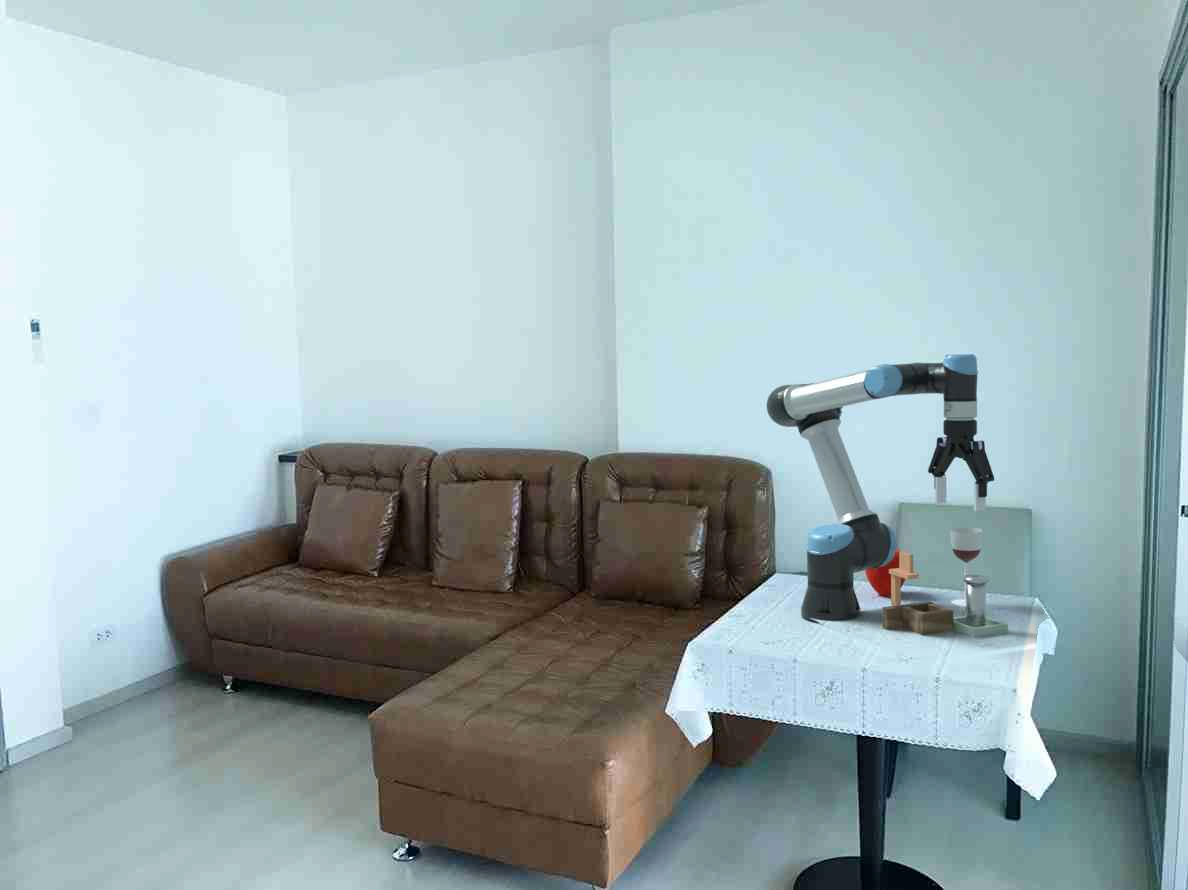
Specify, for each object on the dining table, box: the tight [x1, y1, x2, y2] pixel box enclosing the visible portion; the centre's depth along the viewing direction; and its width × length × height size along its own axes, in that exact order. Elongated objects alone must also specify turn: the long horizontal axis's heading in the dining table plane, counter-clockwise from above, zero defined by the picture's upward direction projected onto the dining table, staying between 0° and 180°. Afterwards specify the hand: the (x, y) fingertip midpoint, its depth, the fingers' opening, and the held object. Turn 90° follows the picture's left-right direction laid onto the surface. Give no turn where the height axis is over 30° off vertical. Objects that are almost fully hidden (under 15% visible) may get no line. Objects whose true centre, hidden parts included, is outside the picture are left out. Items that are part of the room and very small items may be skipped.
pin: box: [963, 574, 990, 628], centre depth 235 cm, size 6×6×13 cm
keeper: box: [889, 551, 920, 607], centre depth 236 cm, size 7×3×13 cm, turn 20°
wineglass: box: [950, 526, 984, 607], centre depth 263 cm, size 8×9×20 cm
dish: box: [953, 615, 1009, 639], centre depth 236 cm, size 10×10×3 cm
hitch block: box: [882, 600, 954, 636], centre depth 237 cm, size 9×14×6 cm, turn 110°
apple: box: [864, 548, 906, 597], centre depth 275 cm, size 12×12×13 cm
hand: (959, 507), depth 235 cm, fingers open, 13 cm apart
